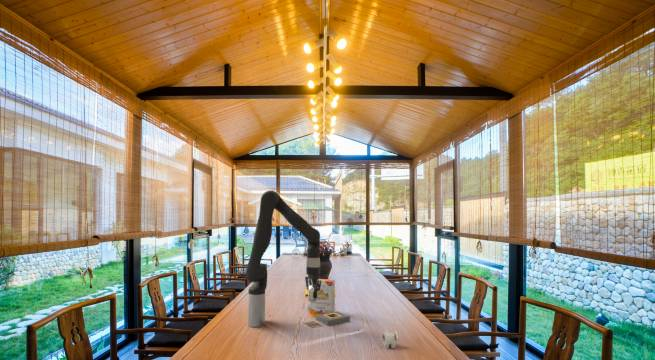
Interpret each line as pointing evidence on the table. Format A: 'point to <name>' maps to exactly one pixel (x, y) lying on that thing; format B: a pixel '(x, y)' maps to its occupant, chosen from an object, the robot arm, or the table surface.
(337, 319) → the hole block
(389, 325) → the table surface
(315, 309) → the cracker box
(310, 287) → the steel peg
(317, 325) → the brown rectangular block
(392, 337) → the elephant figurine
